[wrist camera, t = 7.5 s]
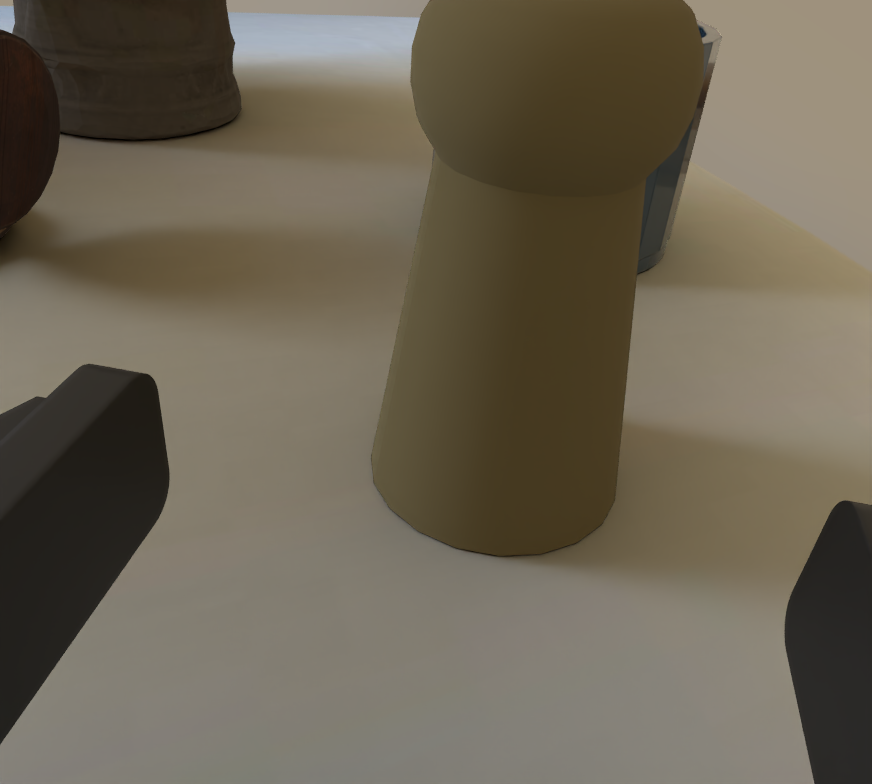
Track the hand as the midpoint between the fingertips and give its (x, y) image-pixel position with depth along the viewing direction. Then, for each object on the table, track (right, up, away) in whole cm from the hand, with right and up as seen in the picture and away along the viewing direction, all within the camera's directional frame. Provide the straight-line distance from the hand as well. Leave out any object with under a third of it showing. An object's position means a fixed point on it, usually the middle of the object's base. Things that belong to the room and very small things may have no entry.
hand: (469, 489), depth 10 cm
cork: (+1, -1, +10) cm, 10 cm away
